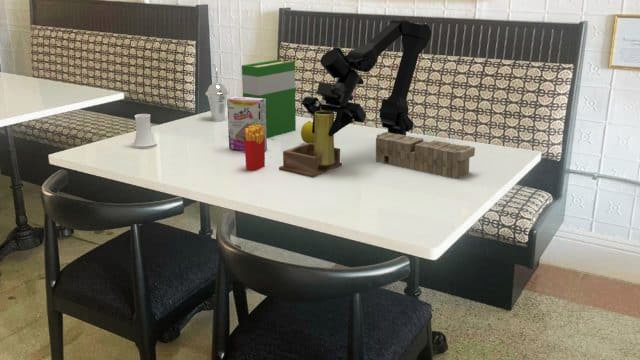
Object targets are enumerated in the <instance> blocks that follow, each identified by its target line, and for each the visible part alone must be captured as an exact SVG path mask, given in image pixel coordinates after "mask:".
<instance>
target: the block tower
mask: <svg viewBox="0 0 640 360" xmlns="http://www.w3.org/2000/svg"><path fill="white" fill-rule="evenodd" d="M475 152H476V147H475V146H470V145H463V144H461V145H460V144H456V143H455V144H454V143H450V142H446V141H440V140H439V141H438V140H435V139H434V140H431V141H424V138H422V137H414V136H410V135H409V136H408V135H407V134H406V135H401V134H393V133H390V132H388V131H385V132H382V133H380V134H379V133H378V134H376V137H375V162H376V163H381V164H386V163H387V164H388V165H390V166H394V167H398V168H399V167H400V168H403V169H407V170H411V171H417V172H422V173H426V174H430V175H435V176H439V175H440V176H441V177H445V178H449V177H450V179H454V180H457V179H458V178H461V177H463V176H465V175H466V174H467V173H468V174H469V173H470V158H472V157H475ZM460 176H461V177H460Z"/></svg>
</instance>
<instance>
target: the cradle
mask: <svg viewBox="0 0 640 360" xmlns="http://www.w3.org/2000/svg"><path fill="white" fill-rule="evenodd" d="M282 158H283V159H282V162H283V165H281V166H279V167H278V170H279V171H283V172H286V173H292V174H295V175H300V176H303V177H307V178H312V179H313V178H316V177H318V176H321V175H323V174H325V173H328V172H330V171H332V170H335V169H337V168H339V167H341V166H343V162H341V148H338V147H334V159H335V163H333V164H331V165H318V157H314V143H304V144H301V145H297V146H295V147H291V148H289V149H286V150H284V151H282Z"/></svg>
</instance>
